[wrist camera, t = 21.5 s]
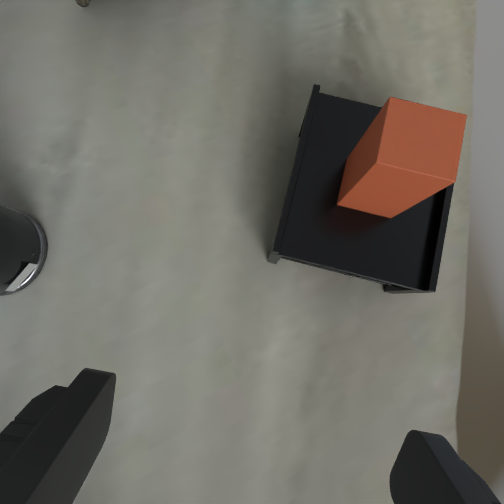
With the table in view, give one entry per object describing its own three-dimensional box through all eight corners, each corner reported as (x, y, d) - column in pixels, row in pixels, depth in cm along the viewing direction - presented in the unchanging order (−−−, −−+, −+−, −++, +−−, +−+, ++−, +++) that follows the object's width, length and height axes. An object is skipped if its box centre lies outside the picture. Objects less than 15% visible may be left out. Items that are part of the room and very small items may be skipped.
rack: (267, 261, 35) (272, 250, 27) (300, 129, 37) (314, 83, 29) (392, 293, 34) (435, 292, 26) (418, 158, 37) (465, 119, 29)
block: (336, 204, 28) (376, 162, 20) (347, 157, 29) (389, 96, 20) (391, 218, 28) (456, 182, 19) (400, 171, 29) (467, 114, 20)
